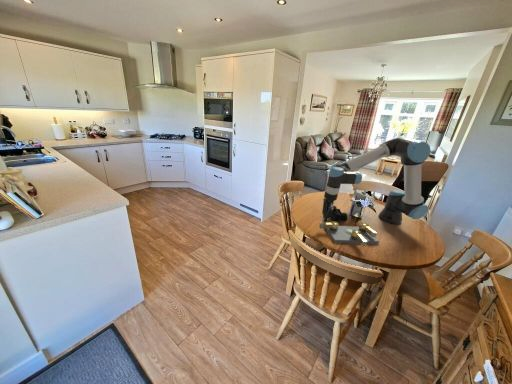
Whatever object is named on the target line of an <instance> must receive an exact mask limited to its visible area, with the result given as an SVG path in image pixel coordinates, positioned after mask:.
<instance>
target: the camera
mask: <svg viewBox="0 0 512 384" xmlns="http://www.w3.org/2000/svg"><path fill="white" fill-rule="evenodd" d="M333 207H335V209H334V210H333V212H332V214H331V217H330V220H331V222H332V221H335V222H338V223H339V224H340V222H344V223H345V222H347V221H348V213H346V212H342V211H341V209H340V208H338V207H337V206H336V205H333Z"/></svg>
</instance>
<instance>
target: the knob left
mask: <svg viewBox="0 0 512 384" xmlns="http://www.w3.org/2000/svg"><path fill="white" fill-rule="evenodd" d="M351 237H352V238H353V239H356V240H358V241H359V242H360V243H359V244H360V245H361V246H362V247H366V246H367V245H368V244H367V241H366V240H365V239H364V238H363V237H362V236H361V232H360V231H359V230H355V229H354V230H352V233H351Z"/></svg>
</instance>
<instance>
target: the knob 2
mask: <svg viewBox="0 0 512 384" xmlns="http://www.w3.org/2000/svg"><path fill="white" fill-rule="evenodd" d="M358 227H359V230H361V231H363V232H367V233H368V234H370V235H371V236H372V237H376V238H377V235H378V232H376V231H375V230H374V229H373V228H371V227H370V225H369V224H368V223H366V222H360V223H359V226H358Z"/></svg>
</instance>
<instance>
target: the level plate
mask: <svg viewBox="0 0 512 384" xmlns="http://www.w3.org/2000/svg"><path fill="white" fill-rule="evenodd" d="M324 229H325V231H326V232H327V234H328V235H329V237H330V238H331V240H332V241H333V243H334V244H335V243H336V244H337V243H339V244H360V242H359V241H358V240H356V239H353V238H352V237H351V233H352V230H354V229H355V230H359V226H355V225H354V226H351V225H350V226H347V225H346V226H345V225H339V227H338V230H337V231H333V230H331V229H330V228H324ZM359 231H360V232H361V236H362V237H363V238H364V239H365V240H366V241H367V244H366V245H379V243H380V240H379V239H377V236H376V237H372V236H371V235H370V234H368V233H367V232H363V231H361V230H359Z"/></svg>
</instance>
